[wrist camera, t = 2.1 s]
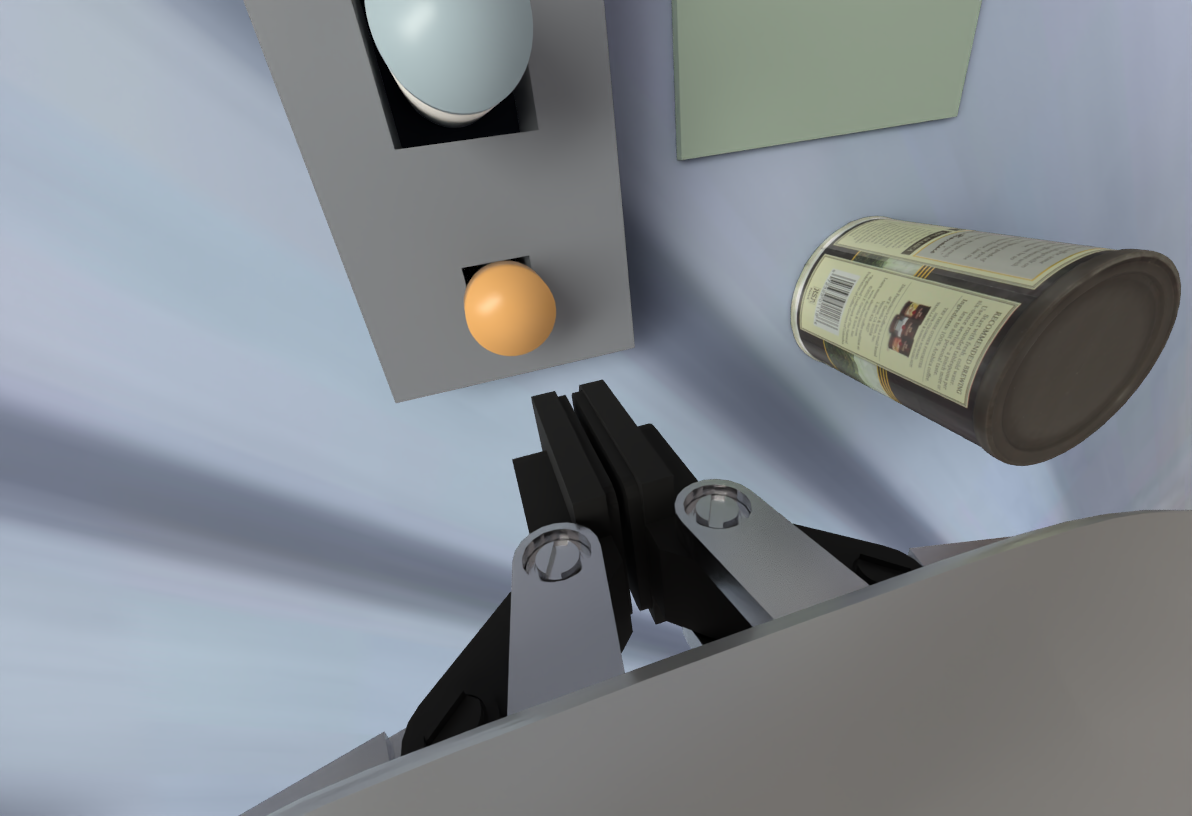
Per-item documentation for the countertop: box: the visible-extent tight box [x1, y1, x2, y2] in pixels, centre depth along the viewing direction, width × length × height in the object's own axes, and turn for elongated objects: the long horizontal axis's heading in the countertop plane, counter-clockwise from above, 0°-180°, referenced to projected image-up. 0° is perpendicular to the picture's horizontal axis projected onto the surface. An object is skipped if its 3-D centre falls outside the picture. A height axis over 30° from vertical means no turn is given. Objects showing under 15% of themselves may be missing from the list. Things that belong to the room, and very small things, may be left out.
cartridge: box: [365, 0, 533, 128], centre depth 17 cm, size 4×4×10 cm
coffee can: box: [791, 216, 1181, 466], centre depth 28 cm, size 10×10×14 cm
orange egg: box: [464, 261, 556, 356], centre depth 22 cm, size 4×4×6 cm
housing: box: [243, 0, 635, 403], centre depth 21 cm, size 18×12×5 cm, turn 7°
